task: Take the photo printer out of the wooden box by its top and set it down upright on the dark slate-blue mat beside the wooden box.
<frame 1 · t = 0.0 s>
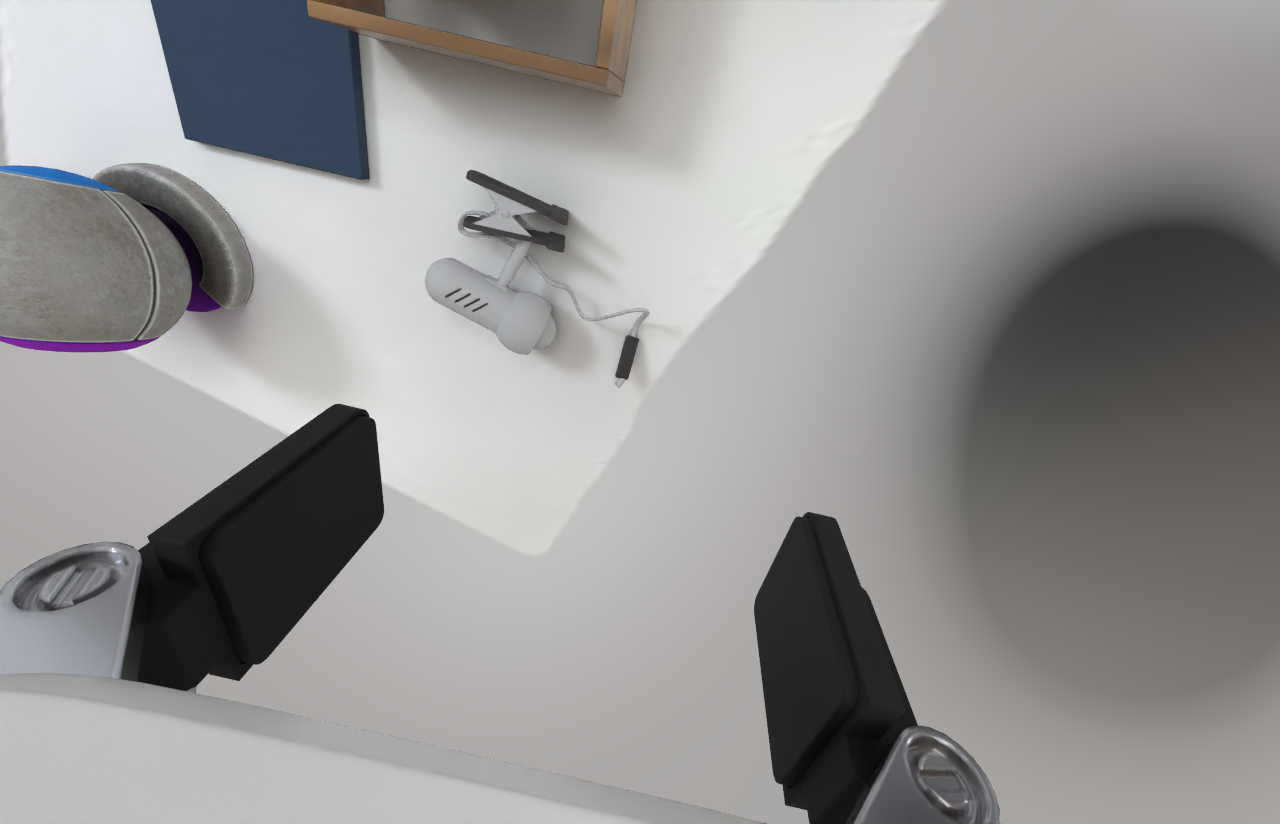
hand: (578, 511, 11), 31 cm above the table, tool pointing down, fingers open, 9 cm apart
webcam: (181, 243, 42), on the table
clip-on lamp: (560, 286, 40), on the table
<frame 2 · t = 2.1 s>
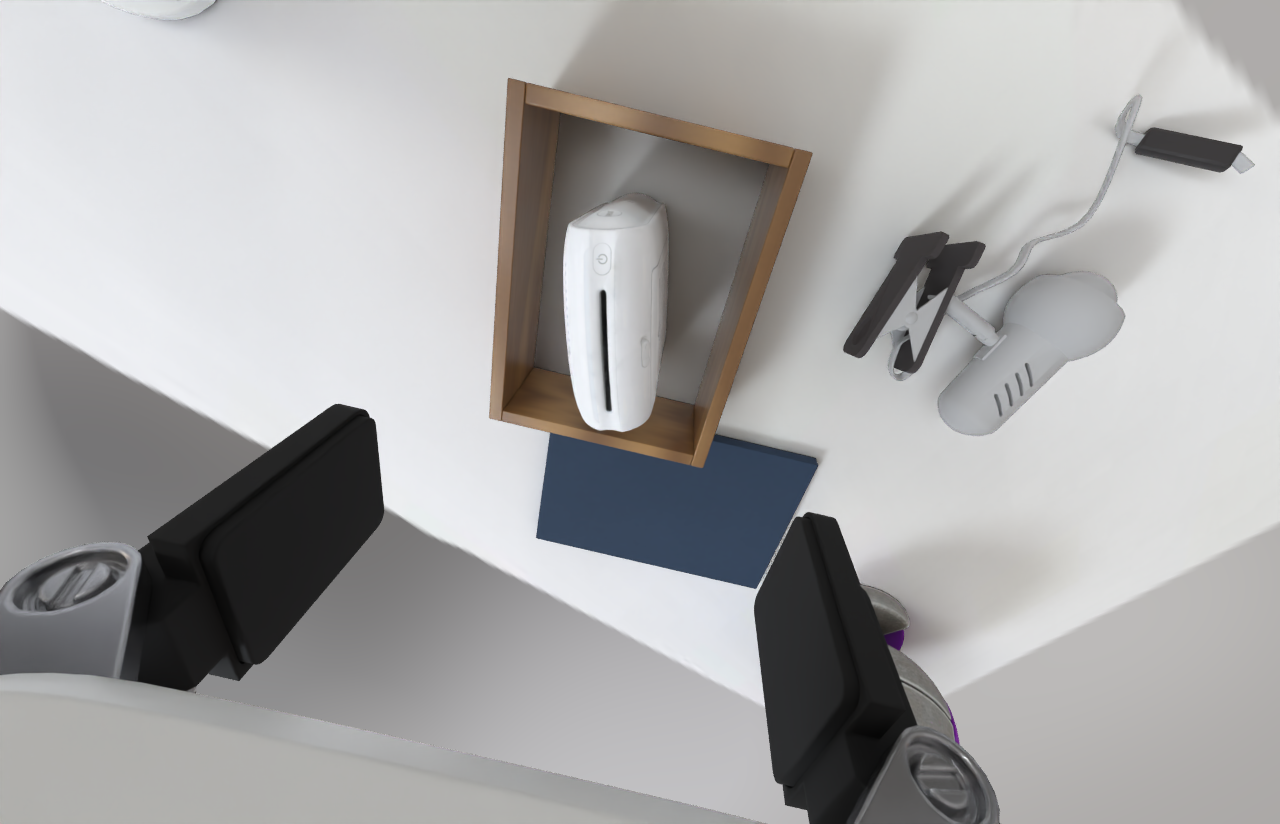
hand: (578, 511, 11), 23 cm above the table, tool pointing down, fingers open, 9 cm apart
webcam: (832, 627, 45), on the table
clip-on lamp: (1002, 260, 28), on the table
mat: (665, 497, 39), on the table
wooden box: (636, 278, 31), on the table
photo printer: (636, 277, 31), resting in wooden box
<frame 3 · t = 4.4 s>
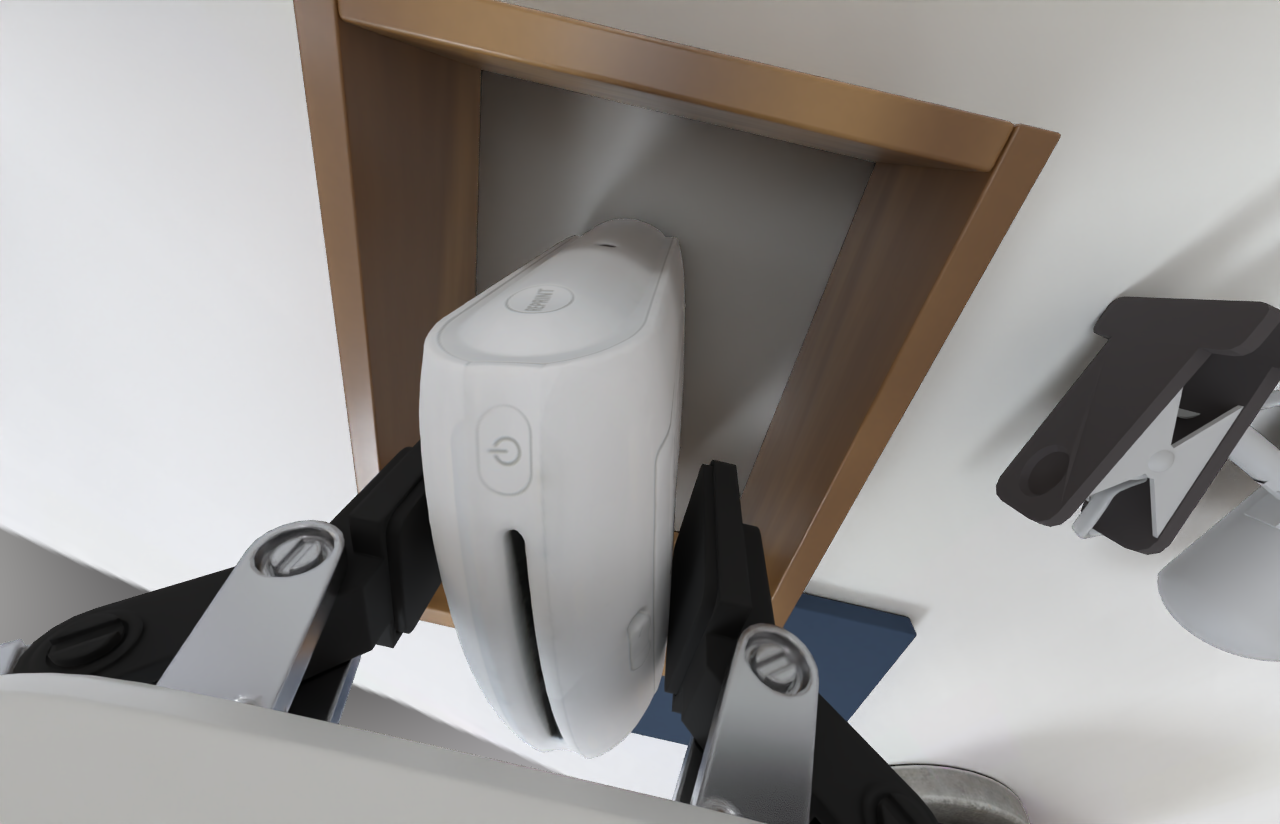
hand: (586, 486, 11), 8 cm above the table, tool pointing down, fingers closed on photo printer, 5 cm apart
webcam: (909, 809, 32), on the table
mat: (676, 655, 27), on the table
wooden box: (628, 358, 18), on the table
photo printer: (629, 356, 18), resting in wooden box, touching gripper
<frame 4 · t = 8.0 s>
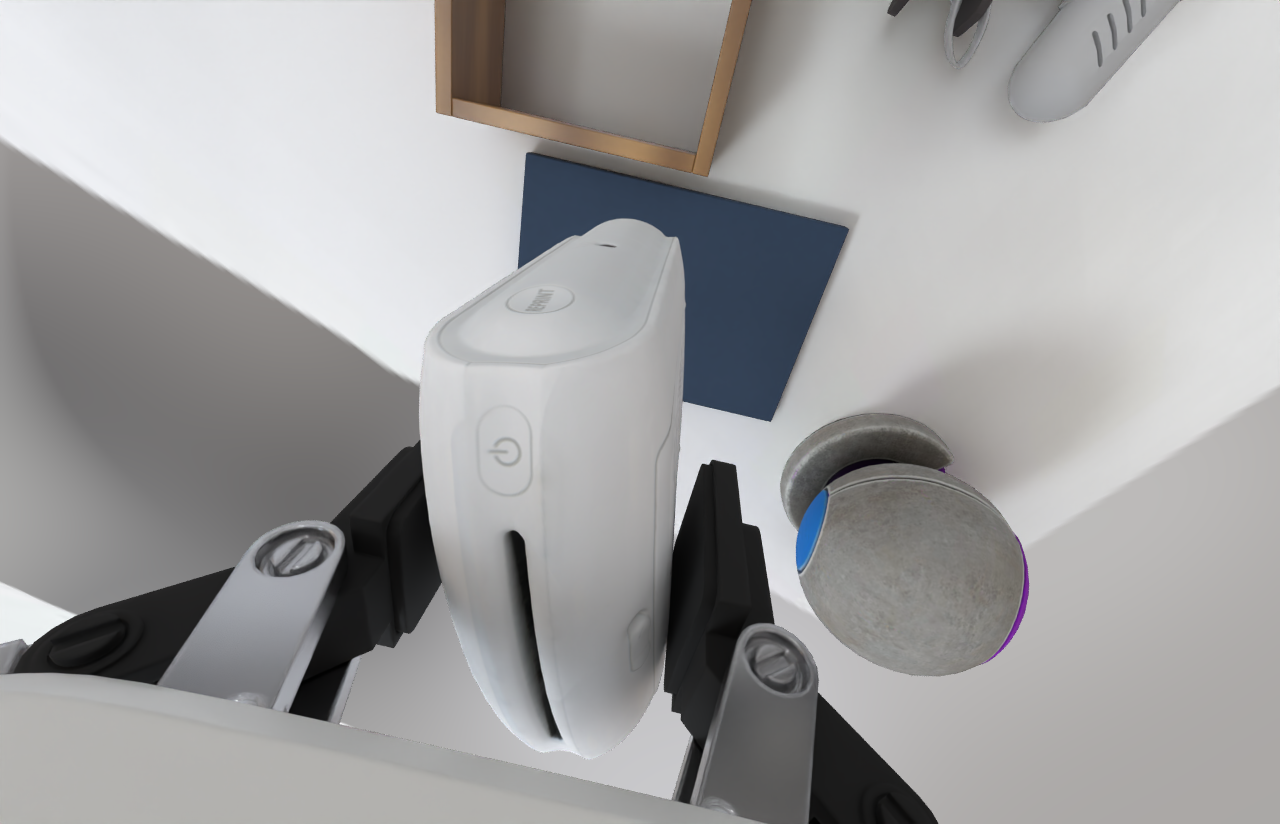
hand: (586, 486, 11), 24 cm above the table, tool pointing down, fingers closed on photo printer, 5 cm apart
webcam: (860, 481, 39), on the table
mat: (663, 298, 33), on the table
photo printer: (629, 356, 18), point 16 cm above the table, touching gripper
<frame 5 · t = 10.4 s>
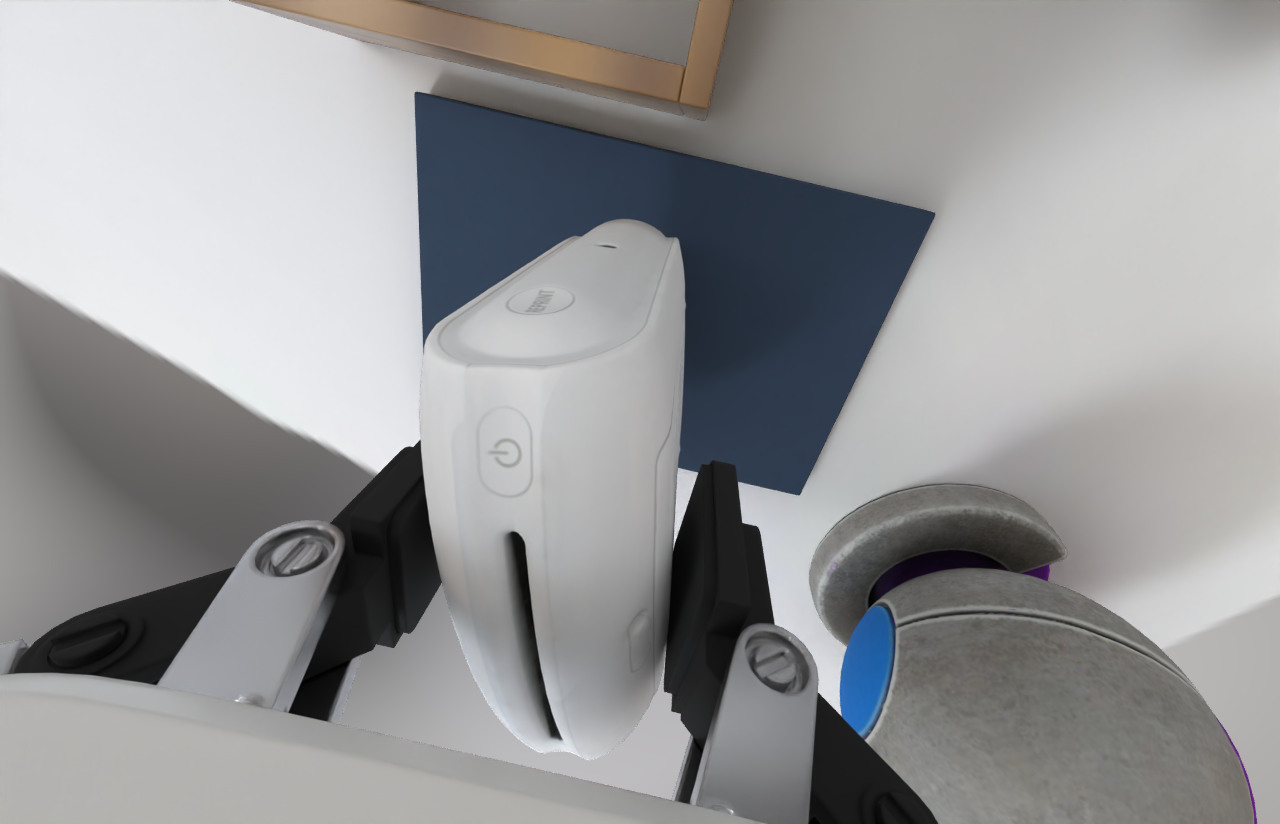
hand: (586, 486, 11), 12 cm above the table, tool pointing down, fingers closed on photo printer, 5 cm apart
webcam: (920, 569, 28), on the table
mat: (641, 320, 22), on the table
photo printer: (629, 357, 18), point 4 cm above the table, touching gripper
when the fingers open (9 cm above the table, at t = 11.8 s): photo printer stays where it is, resting on mat.
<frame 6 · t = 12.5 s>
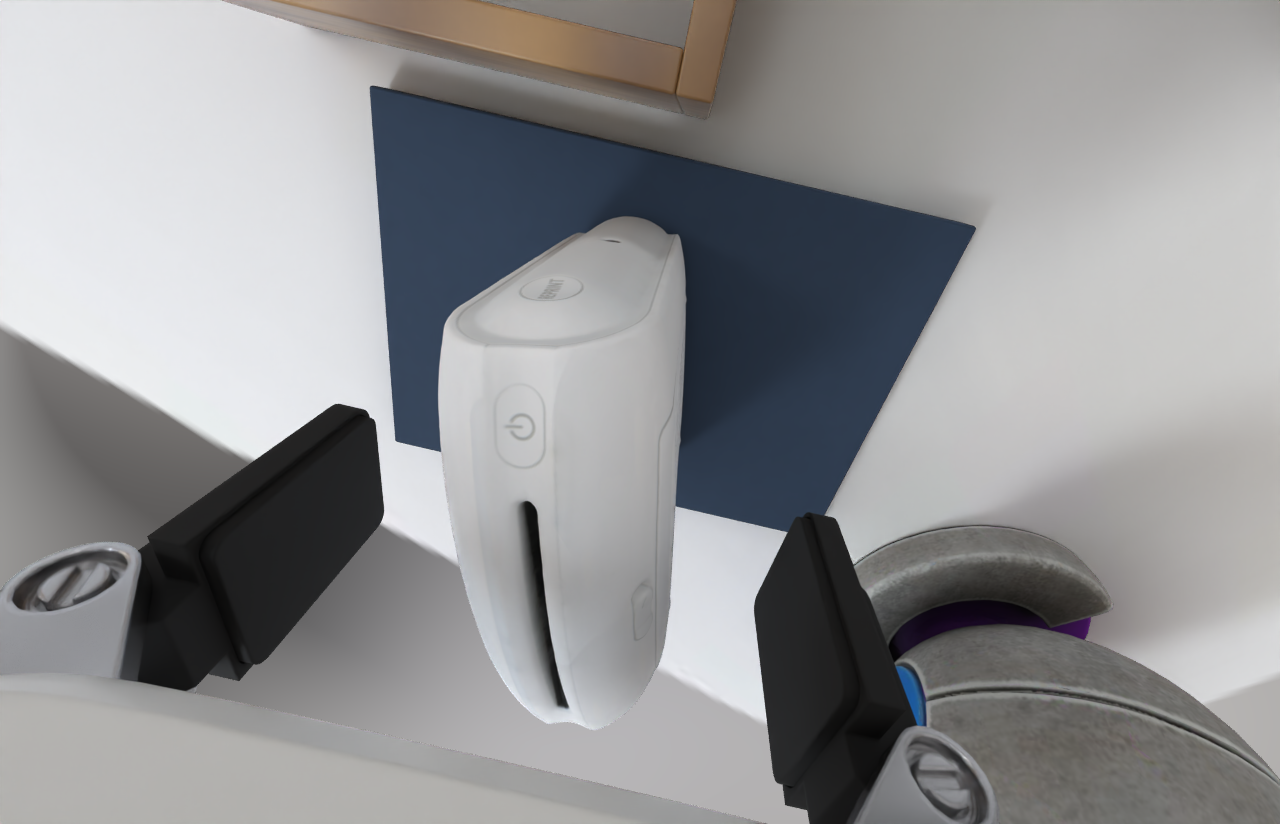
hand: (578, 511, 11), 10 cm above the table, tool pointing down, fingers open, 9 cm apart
webcam: (944, 614, 25), on the table
mat: (635, 345, 19), on the table
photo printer: (631, 351, 19), point 1 cm above the table, touching mat
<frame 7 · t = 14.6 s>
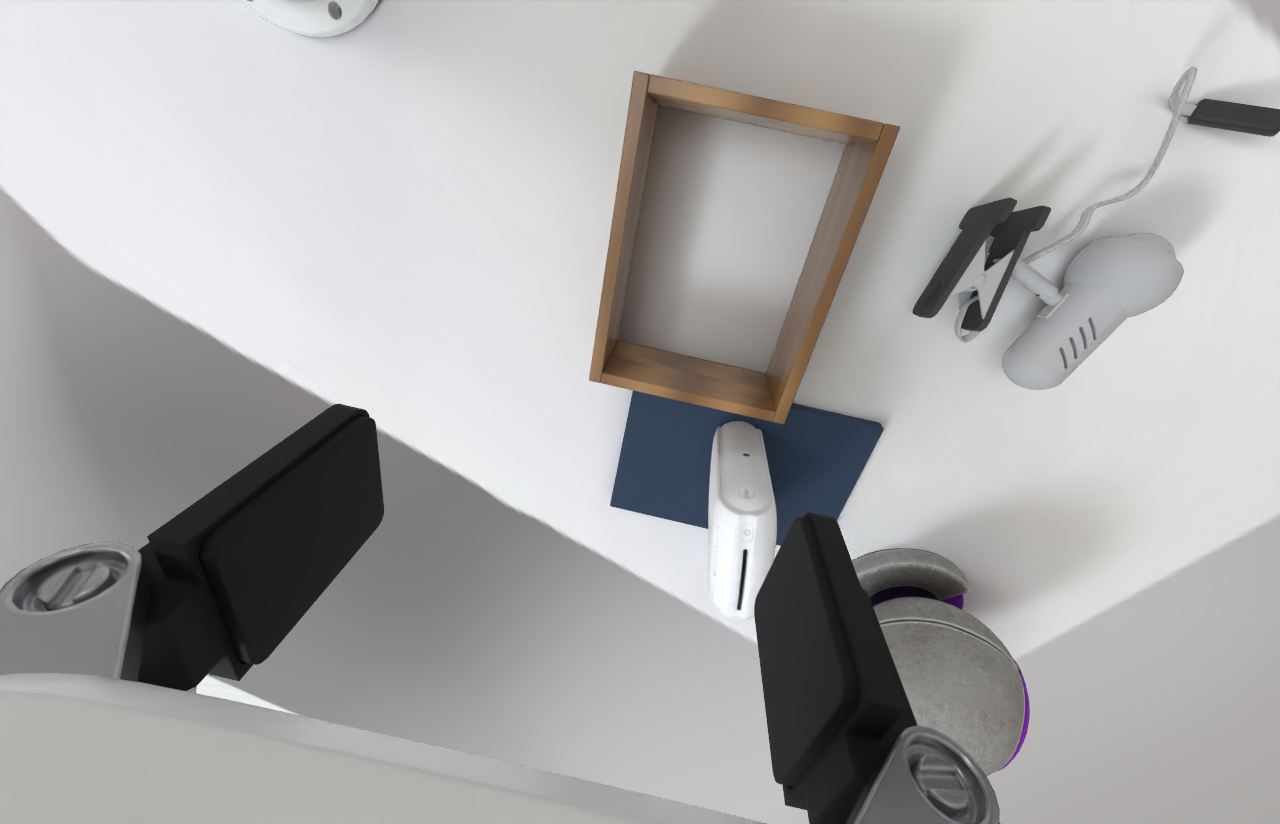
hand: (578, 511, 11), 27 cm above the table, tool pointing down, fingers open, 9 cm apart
webcam: (891, 595, 47), on the table
clip-on lamp: (1061, 227, 30), on the table
mat: (734, 464, 42), on the table
wooden box: (718, 254, 34), on the table
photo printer: (734, 469, 41), point 1 cm above the table, touching mat
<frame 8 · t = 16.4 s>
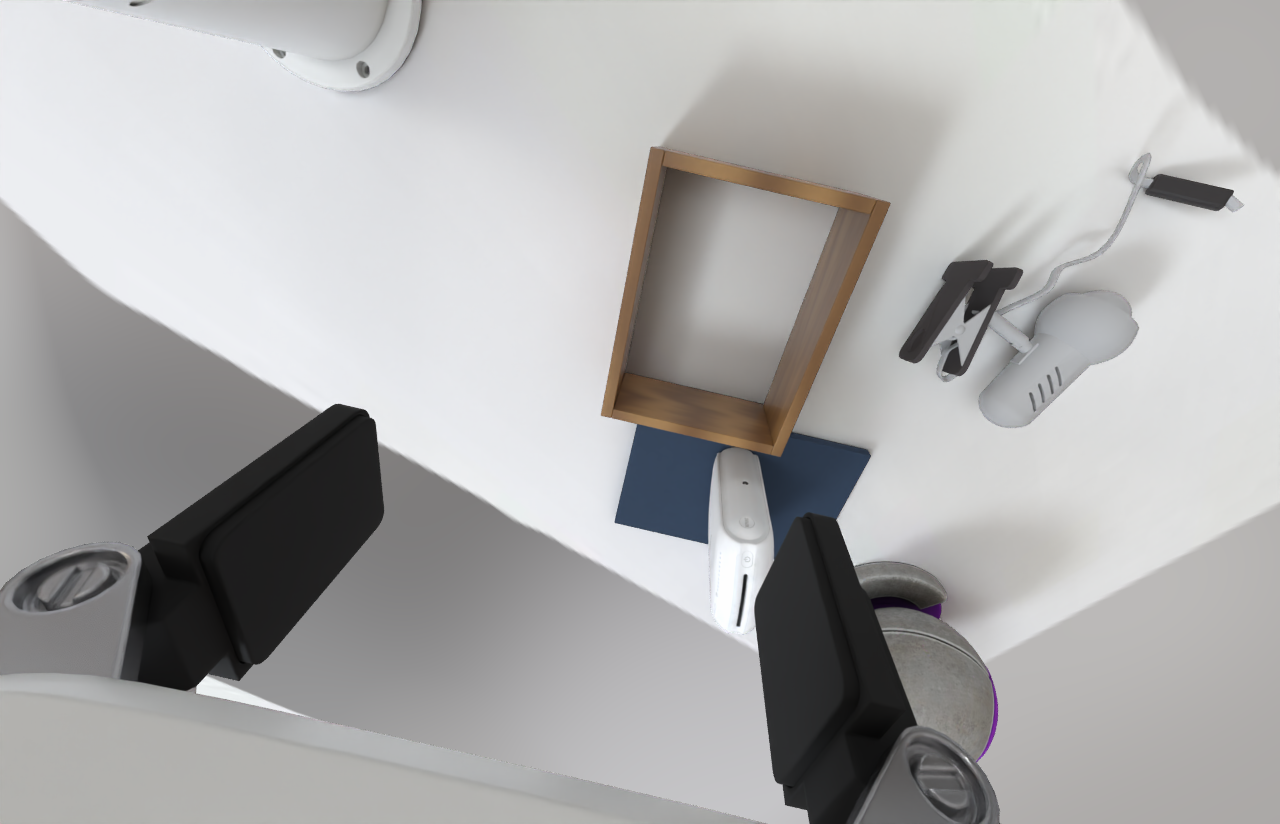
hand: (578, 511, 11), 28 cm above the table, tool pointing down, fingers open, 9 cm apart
webcam: (875, 603, 50), on the table
clip-on lamp: (1034, 280, 33), on the table
mat: (732, 485, 45), on the table
wooden box: (721, 296, 36), on the table
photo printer: (732, 490, 44), point 1 cm above the table, touching mat
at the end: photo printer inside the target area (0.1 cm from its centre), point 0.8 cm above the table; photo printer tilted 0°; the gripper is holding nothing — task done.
